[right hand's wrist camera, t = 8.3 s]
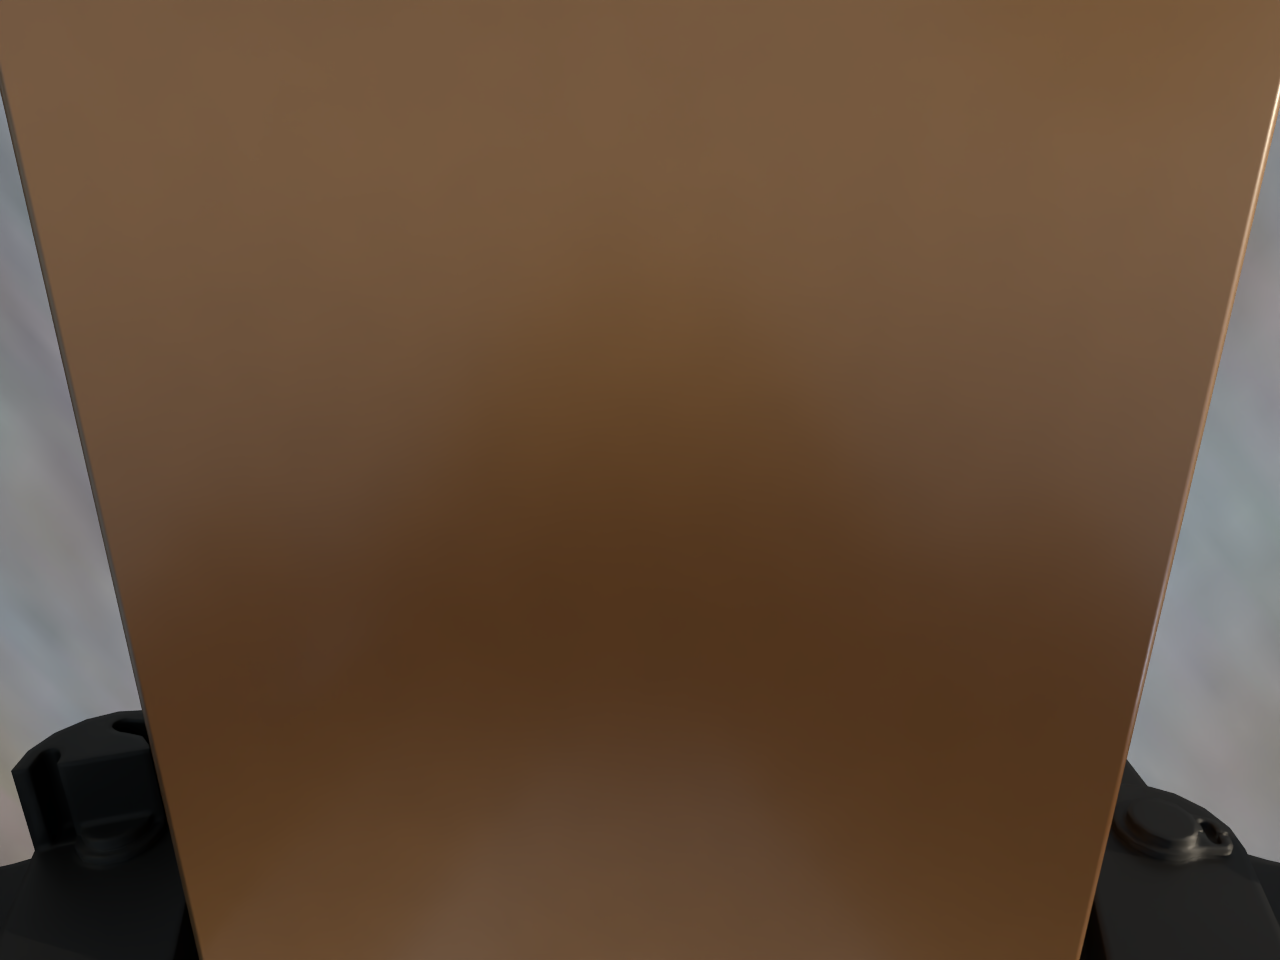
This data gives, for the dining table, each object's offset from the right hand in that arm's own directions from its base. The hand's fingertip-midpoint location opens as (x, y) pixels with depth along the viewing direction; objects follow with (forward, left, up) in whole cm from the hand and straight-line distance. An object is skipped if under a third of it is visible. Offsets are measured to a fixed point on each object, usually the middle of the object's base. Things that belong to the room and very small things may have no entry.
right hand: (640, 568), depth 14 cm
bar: (+5, +5, -1) cm, 8 cm away
